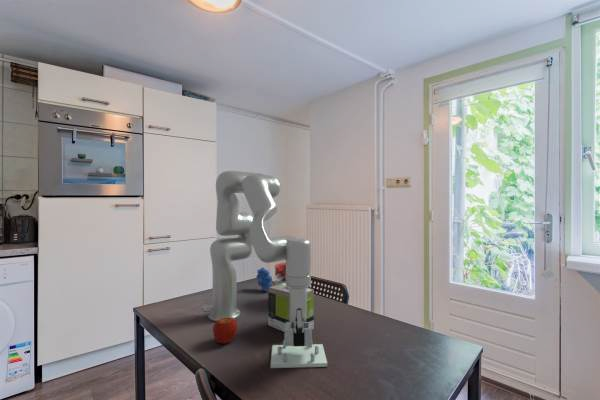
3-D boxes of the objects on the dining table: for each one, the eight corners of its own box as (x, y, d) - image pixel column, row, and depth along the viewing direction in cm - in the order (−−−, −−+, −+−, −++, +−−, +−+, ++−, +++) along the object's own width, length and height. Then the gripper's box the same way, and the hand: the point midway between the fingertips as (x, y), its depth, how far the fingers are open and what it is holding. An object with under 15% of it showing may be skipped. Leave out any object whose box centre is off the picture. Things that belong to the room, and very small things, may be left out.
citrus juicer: (264, 303, 133) (264, 260, 134) (290, 294, 147) (290, 254, 147) (289, 311, 123) (289, 264, 124) (314, 301, 137) (314, 258, 137)
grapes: (250, 290, 154) (250, 267, 154) (260, 287, 159) (260, 265, 159) (265, 294, 146) (265, 271, 146) (275, 291, 151) (275, 268, 151)
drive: (284, 345, 85) (284, 328, 85) (286, 338, 90) (286, 321, 90) (311, 346, 84) (311, 328, 85) (311, 338, 89) (311, 321, 90)
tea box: (314, 329, 107) (314, 288, 107) (295, 338, 99) (295, 295, 99) (286, 318, 117) (286, 281, 117) (267, 325, 109) (267, 286, 110)
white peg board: (270, 368, 81) (270, 357, 81) (272, 348, 92) (272, 338, 92) (327, 366, 82) (327, 355, 82) (322, 347, 93) (322, 337, 93)
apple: (211, 338, 99) (212, 315, 99) (235, 334, 102) (235, 312, 102) (214, 348, 92) (214, 324, 92) (239, 344, 95) (239, 320, 95)
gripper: (286, 273, 96) (286, 329, 95) (285, 288, 79) (285, 356, 78) (308, 273, 96) (308, 328, 96) (313, 288, 79) (313, 355, 79)
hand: (298, 340), depth 87 cm, fingers closed on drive, 5 cm apart
